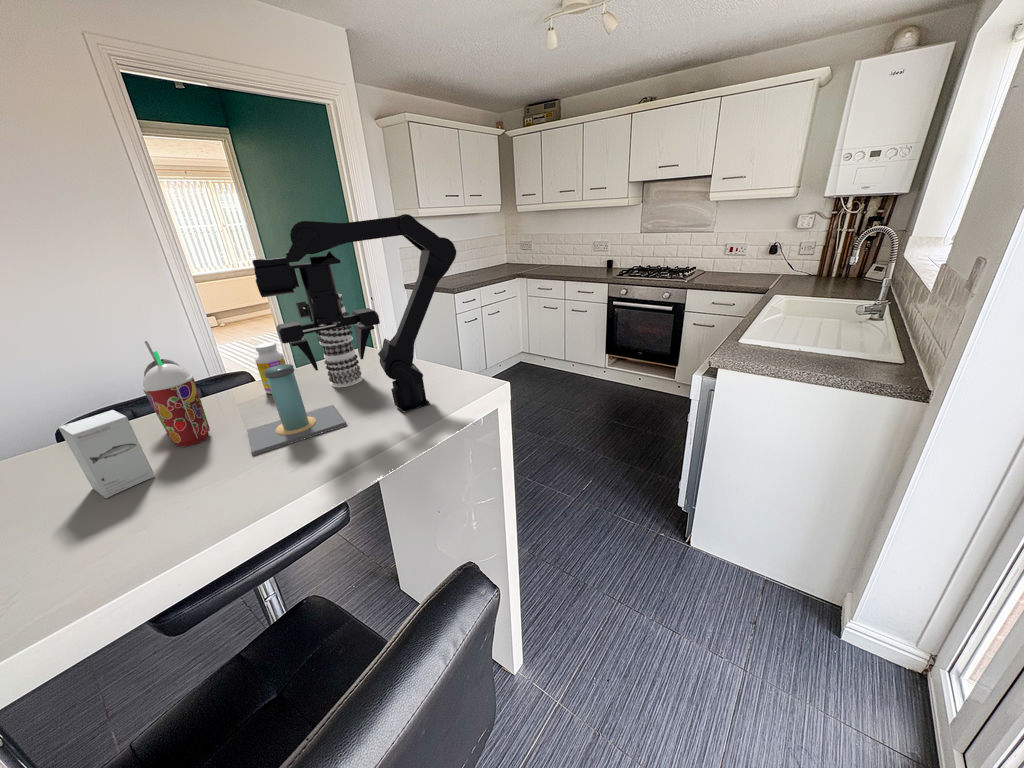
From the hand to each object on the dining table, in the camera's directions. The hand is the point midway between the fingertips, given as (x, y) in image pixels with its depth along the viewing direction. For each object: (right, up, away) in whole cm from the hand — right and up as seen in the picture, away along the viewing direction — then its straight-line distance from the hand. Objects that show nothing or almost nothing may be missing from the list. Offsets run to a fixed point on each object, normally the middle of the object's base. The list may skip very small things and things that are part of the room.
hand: (339, 364), depth 87 cm
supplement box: (-34, -22, -12) cm, 42 cm away
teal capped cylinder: (-10, -13, +2) cm, 17 cm away
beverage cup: (-41, -13, +11) cm, 45 cm away
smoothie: (-32, -16, +2) cm, 36 cm away
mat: (-10, -14, +3) cm, 17 cm away
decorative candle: (-10, -4, +28) cm, 30 cm away
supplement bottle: (-27, -6, +26) cm, 38 cm away
